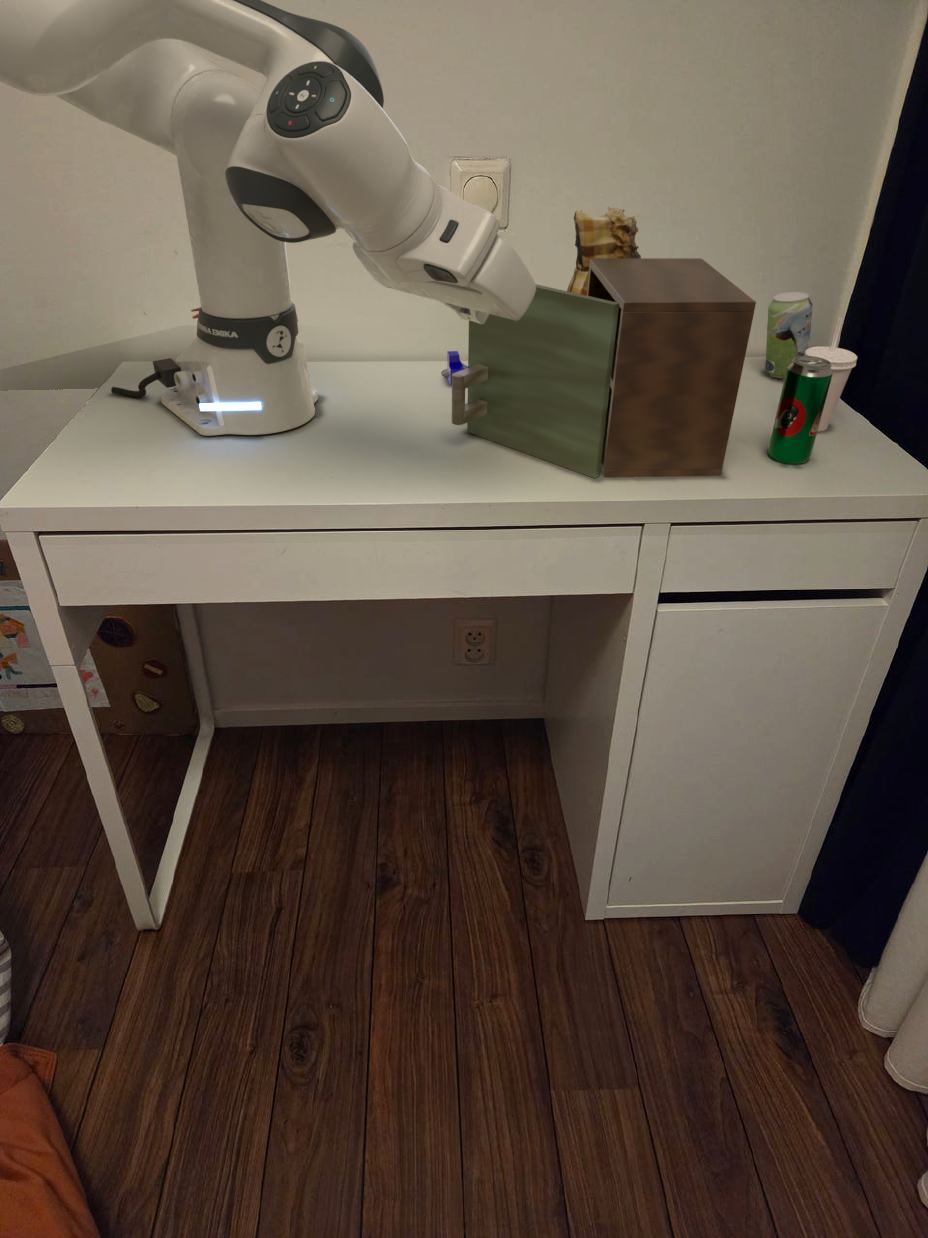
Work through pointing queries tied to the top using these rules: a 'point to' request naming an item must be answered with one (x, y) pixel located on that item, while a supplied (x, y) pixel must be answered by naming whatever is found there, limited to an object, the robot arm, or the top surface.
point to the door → (542, 379)
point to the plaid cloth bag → (601, 242)
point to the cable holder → (453, 364)
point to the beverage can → (787, 331)
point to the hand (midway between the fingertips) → (476, 316)
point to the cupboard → (671, 364)
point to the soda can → (800, 409)
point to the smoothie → (834, 373)
